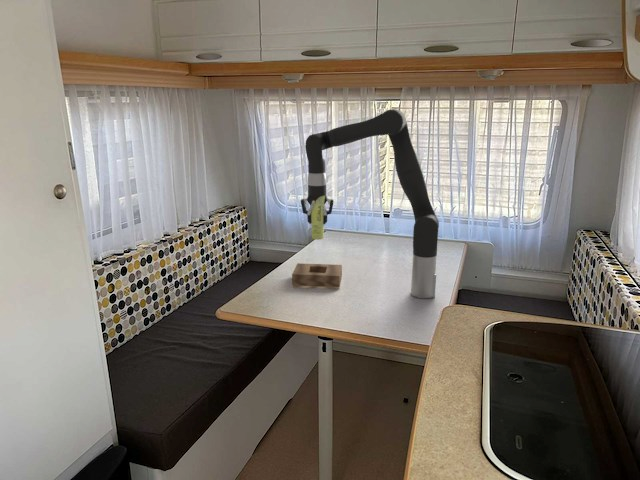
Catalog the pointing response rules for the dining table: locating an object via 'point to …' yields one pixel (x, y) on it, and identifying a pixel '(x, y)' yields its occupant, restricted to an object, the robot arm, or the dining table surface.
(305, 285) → the slotted block
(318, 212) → the tube
